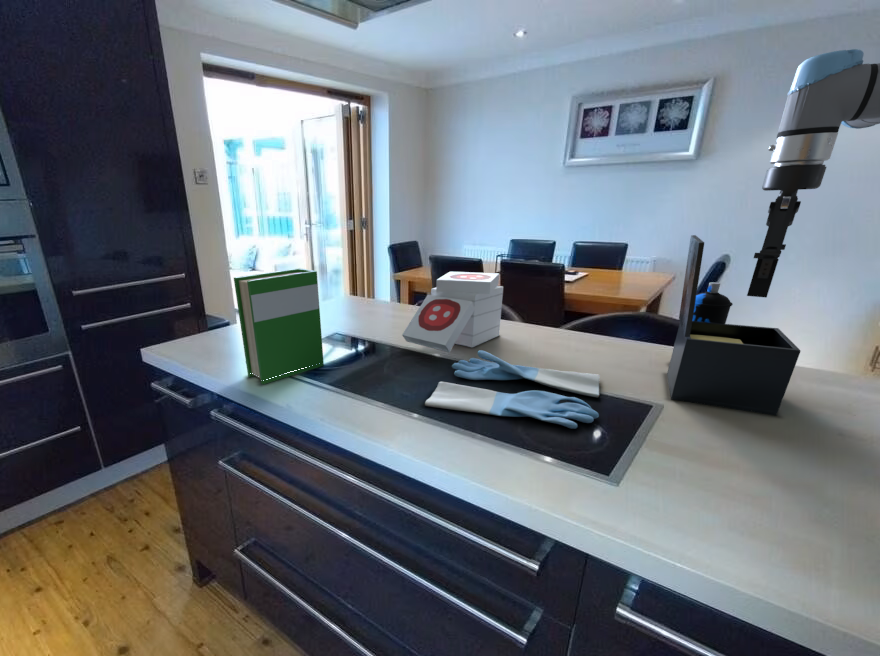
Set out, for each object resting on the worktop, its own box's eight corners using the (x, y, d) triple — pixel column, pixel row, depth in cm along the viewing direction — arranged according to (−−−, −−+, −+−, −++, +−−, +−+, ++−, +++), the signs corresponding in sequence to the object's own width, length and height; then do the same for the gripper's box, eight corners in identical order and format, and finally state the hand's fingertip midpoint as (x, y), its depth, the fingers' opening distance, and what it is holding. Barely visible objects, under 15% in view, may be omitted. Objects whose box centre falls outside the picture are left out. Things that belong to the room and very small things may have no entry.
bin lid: (695, 235, 90) (690, 235, 91) (704, 242, 78) (699, 242, 78) (683, 318, 97) (678, 317, 97) (689, 337, 84) (684, 336, 85)
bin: (758, 386, 94) (778, 328, 89) (776, 415, 82) (801, 350, 77) (666, 373, 102) (680, 320, 97) (670, 399, 90) (686, 339, 85)
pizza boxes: (396, 346, 126) (396, 283, 119) (456, 324, 146) (459, 269, 139) (452, 361, 114) (455, 291, 107) (509, 335, 133) (515, 274, 126)
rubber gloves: (601, 436, 77) (608, 402, 74) (423, 406, 90) (423, 377, 87) (598, 380, 100) (603, 353, 97) (456, 363, 113) (457, 338, 110)
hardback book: (262, 384, 103) (249, 281, 94) (248, 376, 108) (233, 277, 99) (323, 365, 114) (316, 271, 104) (307, 358, 119) (299, 268, 109)
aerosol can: (695, 360, 109) (717, 279, 101) (721, 372, 102) (748, 285, 94) (663, 362, 109) (683, 280, 101) (687, 374, 101) (711, 287, 93)
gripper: (770, 168, 85) (738, 278, 94) (765, 164, 68) (727, 299, 77) (824, 165, 81) (785, 281, 89) (832, 159, 64) (784, 304, 72)
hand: (758, 290), depth 83 cm, fingers open, 13 cm apart
